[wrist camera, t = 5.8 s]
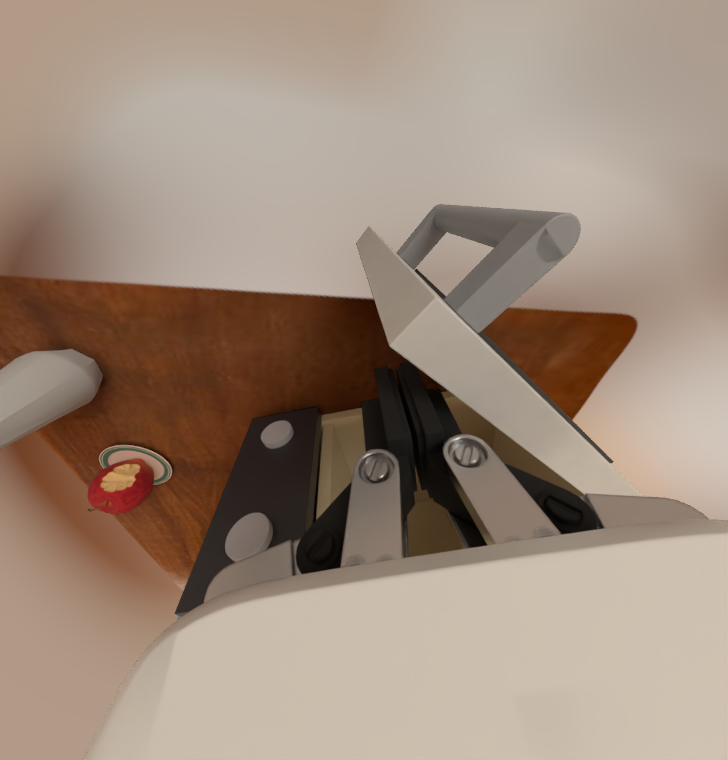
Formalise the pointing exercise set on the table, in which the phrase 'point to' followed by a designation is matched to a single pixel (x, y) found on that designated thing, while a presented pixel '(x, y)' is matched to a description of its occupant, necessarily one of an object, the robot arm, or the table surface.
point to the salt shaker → (44, 390)
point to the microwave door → (472, 314)
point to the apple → (126, 478)
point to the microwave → (321, 487)
